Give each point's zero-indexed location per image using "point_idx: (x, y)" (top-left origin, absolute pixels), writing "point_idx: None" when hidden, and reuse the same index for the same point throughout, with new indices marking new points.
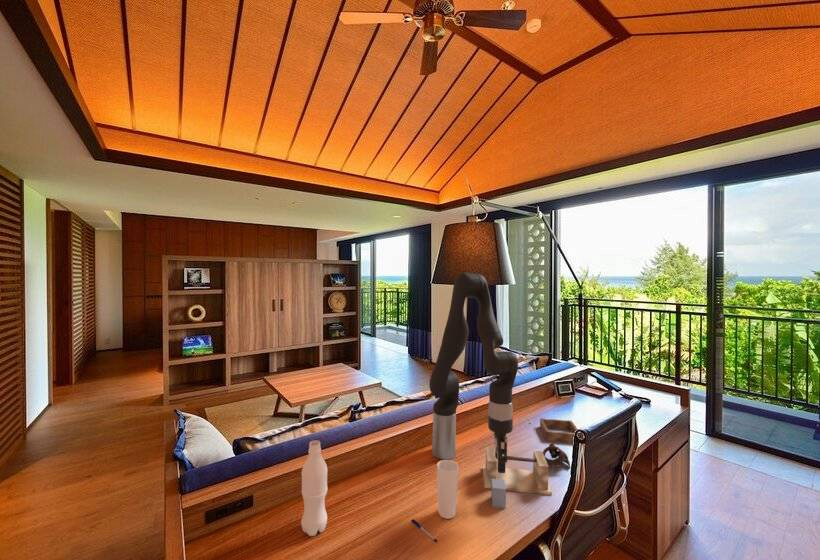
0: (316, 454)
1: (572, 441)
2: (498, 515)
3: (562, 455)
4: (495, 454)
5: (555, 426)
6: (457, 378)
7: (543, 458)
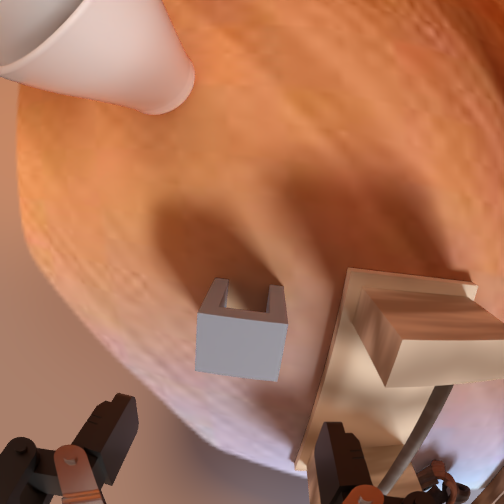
0: None
1: (479, 498)
2: (168, 290)
3: None
4: (329, 437)
5: None
6: None
7: None
